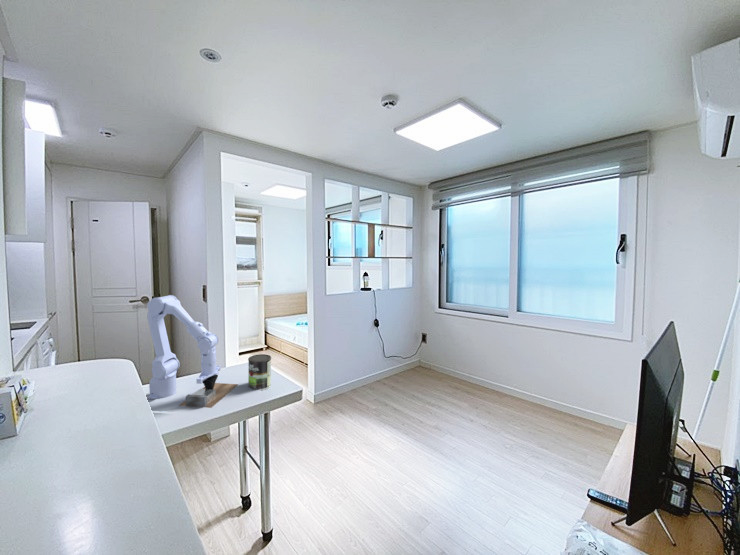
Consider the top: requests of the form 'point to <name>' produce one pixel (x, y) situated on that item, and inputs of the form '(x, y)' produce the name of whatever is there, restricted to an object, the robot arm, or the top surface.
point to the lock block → (206, 394)
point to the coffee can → (259, 371)
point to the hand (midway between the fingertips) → (209, 392)
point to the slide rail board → (219, 393)
